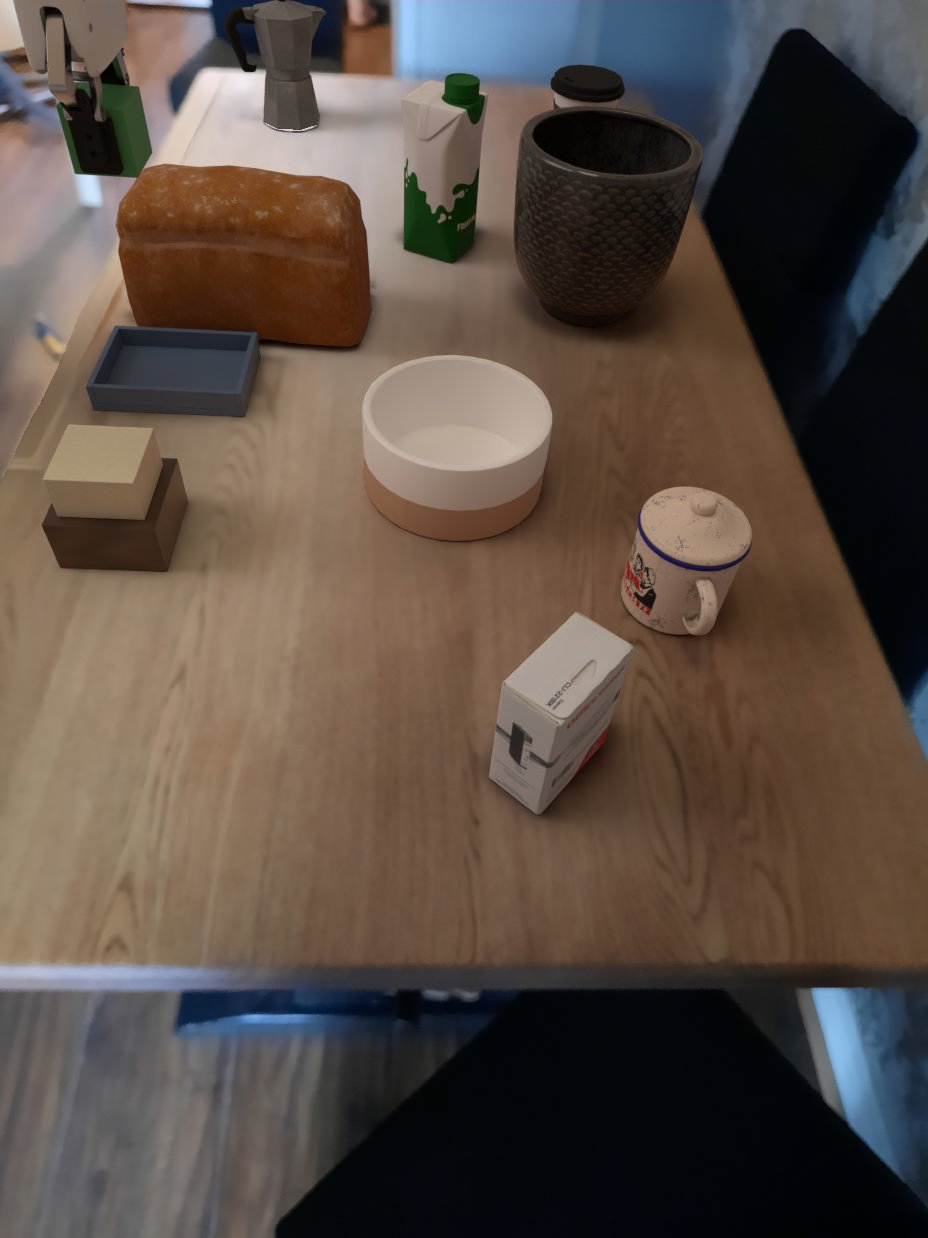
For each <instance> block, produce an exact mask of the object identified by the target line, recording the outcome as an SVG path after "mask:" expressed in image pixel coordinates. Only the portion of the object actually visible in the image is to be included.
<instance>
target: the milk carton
mask: <svg viewBox="0 0 928 1238" xmlns="http://www.w3.org/2000/svg"><path fill="white" fill-rule="evenodd" d="M480 80H481V79H480V78H479V77H478V76H476V75H474V74H471V73H464V72H455V73H454V72H453V73H450V74H447V75H446V76H445V78H444V82H441V81H437V80H433V79H429V80H427V81H426V82H424V83H423V84H421V85H419V86H418V87H417V88H415V89H414V90H411V92H409V93H407V94H406V95H405V96H403V97H401V98H400V101H401V102H400V103H401V110H402V120H403V136H404V137H403V138H404V140H403V148H404V149H403V250H405V251H408V252H412V253H415V254H418V255H422V256H425V257H428V258H432V259H436V260H439V261H442V262H446V263H450V264H453V263H454V262H455V261H456V260H457V259H458V258H459V257H460V256H461V255H462V254H463V253H464V252H465V251H466V250H467V249H468V248H469V247H470V246H471V245H472V244H473V243H474V242H475V235H476V222H477V210H478V195H479V182H480V170H481V169H480V167H481V157H482V156H481V155H482V141H483V132H484V127H485V126H484V125H485V120H486V112H487V107H488V101H489V93H488V92H486V91H483V90H481V91H480V88H481V81H480Z"/></svg>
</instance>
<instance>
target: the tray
mask: <svg viewBox="0 0 928 1238" xmlns="http://www.w3.org/2000/svg"><path fill="white" fill-rule="evenodd" d="M260 359H261V349H260V341H259V339H258V333H256V332H236V331H216V330H197V329H177V328H157V327H138V326H137V325H136V326H135V325H133V326H132V325H113V328H112V330H111V332H110V335H109V336H108V338H107V341H106V343H105V345H104V347H103V349H102V351H101V353H100V356H99V357H98V360H97V362H96V364H95V366H94V367H93V370H92V372H91V374H90V376H89V379H88V381H87V383H86V385H85V389H86V393H87V396H88V398H89V401H90V405H91V408H92V410H93V411H110V412H111V411H112V412H132V413H135V412H136V413H155V414H174V415H175V414H176V415H178V414H179V415H181V414H182V415H198V416H199V415H200V416H218V417H219V416H221V417H241V418H242V417H243V418H244V417H245V416H246V412H247V408H248V406H249V405H248V404H249V401H250V397H251V394H252V390H253V386H254V385H253V384H254V381H255V377H256V373H257V371H258V370H257V369H258V366H259V362H260Z"/></svg>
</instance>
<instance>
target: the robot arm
mask: <svg viewBox="0 0 928 1238" xmlns="http://www.w3.org/2000/svg"><path fill="white" fill-rule="evenodd" d="M12 1H13V7H14V10H15V14H16V18H17V22H18V27H19V31H20V34H21V38H22V42H23V46H24V51H25V53H26V54H25V55H26V57H27V60H28V63H29V66H30V68H31V69H32V70H33V72H35V73H36V74H37V75H45V74H47V84H48V90H49V92H50V94H51V95H52V96H53V97H55V98H56V99H57V101H58V103H59V102H60V104H61V105H62V108H63V113H64V116H65V119H66V120H68V124H69V128H70V131H71V135H72V139H73V143H74V146H75V150H76V154H77V157H78V161H79V165H80V168H81V170H82V171H83V172H84V173H89V174H105V175H121V173H122V172H123V164H122V160H121V156H120V151H119V147H118V143H117V139H116V134H115V130H114V126H113V121H112V118H106V112H105V105H104V98H103V92H102V85H101V84H111V85H126V86H131V80H130V75H129V71H128V69H127V65H126V62H125V59H124V57H125V52H124V51H125V48H124V46H125V44H126V43H127V40H128V39H129V23H128V16H127V9H126V5H125V0H12ZM73 62H74V63H84V65H85V67H84V68H83V70H73ZM75 82H83V83H89V88H90V95H91V98H90V97H89V95H88V94H87V93H86V91H85V90H84V89H80V88H78V87H77V84H76V83H75Z"/></svg>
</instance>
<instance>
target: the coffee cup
mask: <svg viewBox="0 0 928 1238" xmlns="http://www.w3.org/2000/svg"><path fill="white" fill-rule="evenodd" d="M550 90H552V91H553V92H554V98H553V109H558V108H563V107H571V106H607V107H617V105H618V102H619V100H620V99H622V97H623V96H624V95H625V91H626V88H625V84H624V80H623V77H622V76H621V75H620V74H619V73H617V72H615V71H614V70H611V69H610V68H609V69H608V68H606V67H602V66H597V65H591V64H568V65H565V66H562V67H560V68H558V69H557V70H556V71H555V72H554V75H553V76H552V77H551V78H550Z"/></svg>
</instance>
